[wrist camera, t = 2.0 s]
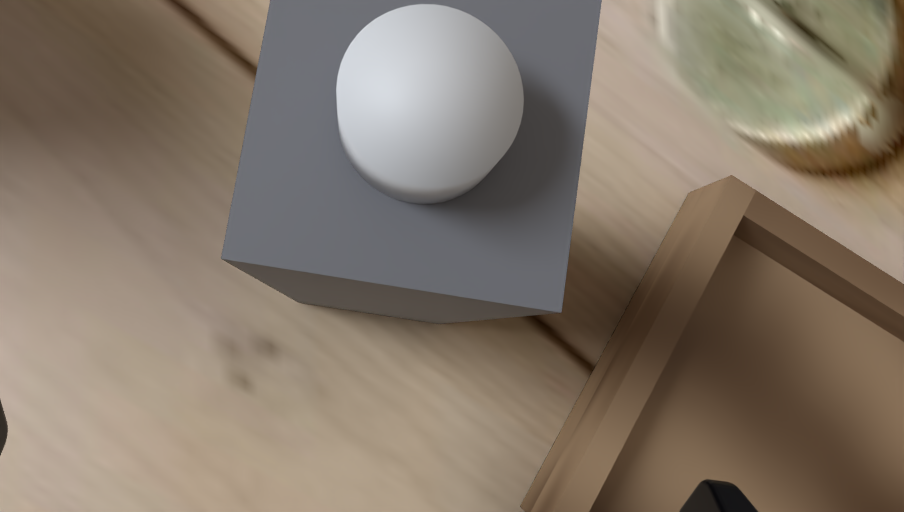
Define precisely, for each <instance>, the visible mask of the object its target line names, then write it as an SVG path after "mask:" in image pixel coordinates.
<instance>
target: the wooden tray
mask: <svg viewBox="0 0 904 512" xmlns="http://www.w3.org/2000/svg"><path fill="white" fill-rule="evenodd" d="M705 479H711V480H718V481H726V482H730V483H733V484H734V485H736V486H737V487H738V488H739V489H740V490H741V491H742V492H743V493H744V495H745V496H746V497H747V498H748V500H749V501H750V502H751V503H752V504H753V506H754V507H755V508H756V509H757V511H758V512H904V284H902V283H901V282H899V281H898V280H896V279H895V278H893V277H891V276H890V275H888V274H887V273H885V272H884V271H882V270H880V269H879V268H877V267H876V266H874V265H873V264H871V263H869V262H868V261H866V260H865V259H863V258H862V257H860V256H858V255H857V254H855V253H854V252H852V251H851V250H849V249H847V248H846V247H844V246H843V245H841V244H840V243H838V242H836V241H835V240H833V239H832V238H830V237H829V236H827V235H825V234H824V233H822V232H821V231H819V230H818V229H816V228H814V227H813V226H811V225H810V224H808V223H807V222H805V221H803V220H802V219H800V218H799V217H797V216H796V215H794V214H792V213H791V212H789V211H788V210H786V209H785V208H783V207H781V206H780V205H778V204H777V203H775V202H773V201H772V200H770V199H769V198H767V197H766V196H764V195H762V194H761V193H759V192H758V191H756V190H755V189H753V188H751V187H750V186H748V185H747V184H745V183H744V182H742V181H740V180H739V179H737V178H736V177H734V176H733V175H731V176H728V177H726V178H724V179H721V180H719V181H716V182H714V183H711V184H709V185H707V186H704V187H702V188H699V189H697V190H694V191H692V192H690V193H688V195H687V197H686V199H685V201H684V203H683V205H682V206H681V208H680V210H679V212H678V214H677V216H676V218H675V219H674V221H673V223H672V225H671V227H670V229H669V231H668V232H667V234H666V236H665V238H664V240H663V242H662V244H661V246H660V247H659V249H658V251H657V253H656V255H655V257H654V259H653V260H652V262H651V264H650V266H649V268H648V270H647V272H646V273H645V275H644V277H643V279H642V281H641V283H640V285H639V286H638V288H637V290H636V292H635V294H634V296H633V298H632V299H631V301H630V303H629V305H628V307H627V309H626V311H625V312H624V314H623V316H622V318H621V320H620V322H619V324H618V325H617V327H616V329H615V331H614V333H613V335H612V337H611V338H610V340H609V342H608V344H607V346H606V348H605V350H604V351H603V353H602V355H601V357H600V359H599V361H598V363H597V364H596V366H595V368H594V370H593V372H592V374H591V376H590V377H589V379H588V381H587V383H586V385H585V387H584V389H583V390H582V392H581V394H580V396H579V398H578V400H577V402H576V403H575V405H574V407H573V409H572V411H571V413H570V415H569V416H568V418H567V420H566V422H565V424H564V426H563V428H562V429H561V431H560V433H559V435H558V437H557V439H556V441H555V442H554V444H553V446H552V448H551V450H550V452H549V454H548V455H547V457H546V459H545V461H544V463H543V465H542V467H541V468H540V470H539V472H538V474H537V476H536V478H535V480H534V482H533V483H532V485H531V487H530V489H529V491H528V493H527V495H526V496H525V498H524V500H523V502H522V504H521V506H520V507H521V508H522V509H523V510H524V511H525V512H679V511H680V509H681V507H682V506H683V505H684V503H685V502H686V501H687V499H688V498H689V497H690V495H691V494H692V492H693V491H694V490H695V488H696V487H697V486H698V484H699V483H700V482H701V481H703V480H705Z"/></svg>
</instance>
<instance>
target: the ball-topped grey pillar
mask: <svg viewBox="0 0 904 512" xmlns="http://www.w3.org/2000/svg"><path fill="white" fill-rule="evenodd" d="M601 2H602V0H270V5H269V10H268V16H267V21H266V26H265V31H264V36H263V42H262V47H261V52H260V57H259V63H258V68H257V73H256V78H255V84H254V89H253V94H252V99H251V104H250V110H249V115H248V120H247V125H246V131H245V136H244V141H243V146H242V152H241V157H240V162H239V167H238V172H237V178H236V183H235V188H234V193H233V199H232V204H231V209H230V214H229V220H228V225H227V230H226V235H225V240H224V246H223V251H222V256H221V259H222V260H224V261H226V262H228V263H230V264H231V265H233V266H235V267H237V268H238V269H240V270H242V271H244V272H245V273H247V274H249V275H251V276H253V277H254V278H256V279H258V280H260V281H261V282H263V283H265V284H267V285H268V286H270V287H272V288H274V289H276V290H277V291H279V292H281V293H283V294H284V295H286V296H288V297H290V298H291V299H293V300H295V301H297V302H299V303H306V304H312V305H319V306H325V307H332V308H338V309H345V310H351V311H358V312H364V313H371V314H377V315H384V316H390V317H397V318H403V319H410V320H417V321H423V322H430V323H436V324H444V323H455V322H466V321H477V320H488V319H499V318H510V317H520V316H531V315H542V314H553V313H561V312H562V304H563V297H564V289H565V281H566V273H567V265H568V258H569V250H570V242H571V234H572V227H573V219H574V211H575V203H576V196H577V188H578V180H579V172H580V165H581V157H582V149H583V141H584V134H585V126H586V118H587V110H588V102H589V95H590V87H591V79H592V71H593V64H594V56H595V48H596V40H597V33H598V25H599V17H600V9H601Z"/></svg>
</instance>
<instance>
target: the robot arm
mask: <svg viewBox="0 0 904 512" xmlns="http://www.w3.org/2000/svg"><path fill="white" fill-rule="evenodd" d="M7 433H8V426H7V421H6V417H5V414H4V411H3V407H2V404H1V400H0V455H1V453H2V450H3V448H4V445H5V442H6V439H7ZM679 512H758V511H757V509H756V508H755V507H754V506H753V504H752V503H751V502H750V501H749V500H748V498H747V497H746V496H745V495H744V493H743V492H742V491H741V490H740V489H739V488H738V487H737V486H736V485H734V484H733V483H730V482H726V481H718V480H711V479H705V480H703V481H701V482H700V483H699V484H698V486H697V487H696V488H695V490H694V491H693V492H692V494H691V495H690V497H689V498H688V499H687V501H686V502H685V503H684V505H683V506H682V507H681V509H680V511H679Z"/></svg>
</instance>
